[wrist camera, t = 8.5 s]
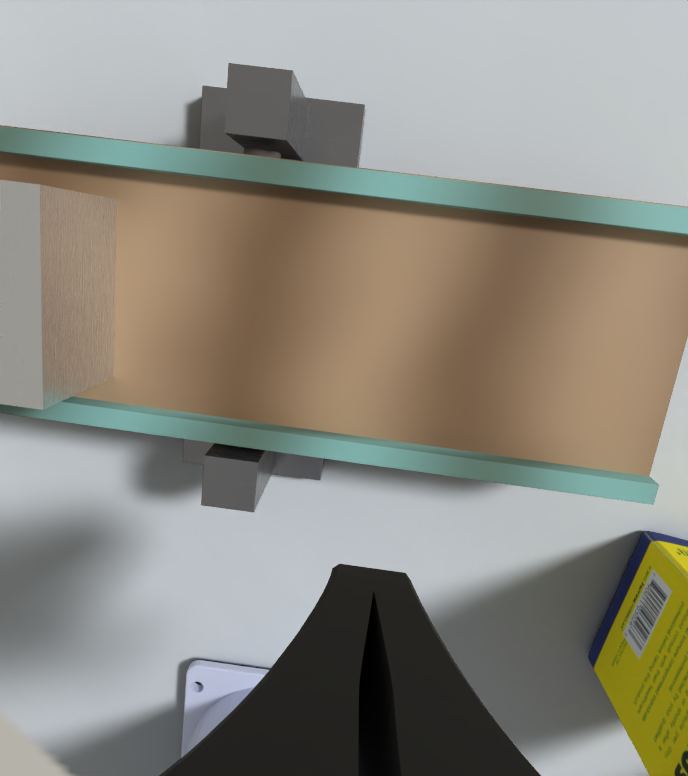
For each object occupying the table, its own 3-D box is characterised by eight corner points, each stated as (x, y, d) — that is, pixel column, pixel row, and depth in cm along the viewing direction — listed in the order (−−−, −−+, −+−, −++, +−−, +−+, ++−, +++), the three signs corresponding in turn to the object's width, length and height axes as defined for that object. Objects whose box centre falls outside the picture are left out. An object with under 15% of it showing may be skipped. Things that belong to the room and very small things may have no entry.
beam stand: (365, 111, 18) (361, 69, 14) (322, 471, 21) (309, 525, 17) (210, 92, 18) (161, 45, 14) (190, 454, 21) (145, 503, 17)
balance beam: (698, 206, 15) (738, 200, 13) (623, 488, 17) (650, 514, 16) (-73, 115, 16) (-129, 98, 14) (-56, 393, 18) (-103, 407, 16)
